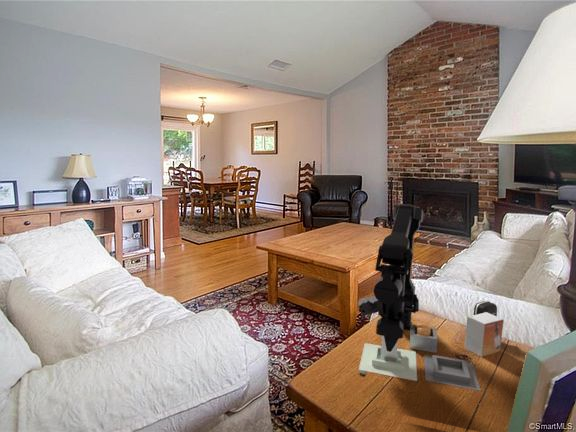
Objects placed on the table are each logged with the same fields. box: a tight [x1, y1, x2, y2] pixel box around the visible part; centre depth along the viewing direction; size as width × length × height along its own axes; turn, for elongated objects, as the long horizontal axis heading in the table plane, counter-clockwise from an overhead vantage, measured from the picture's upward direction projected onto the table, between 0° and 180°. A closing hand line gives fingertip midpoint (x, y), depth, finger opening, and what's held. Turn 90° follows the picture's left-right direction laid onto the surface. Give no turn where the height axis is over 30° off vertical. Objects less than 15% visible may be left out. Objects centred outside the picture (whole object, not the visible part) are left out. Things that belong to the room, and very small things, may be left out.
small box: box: [464, 312, 505, 358], centre depth 99 cm, size 8×6×10 cm
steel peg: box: [380, 336, 399, 362], centre depth 93 cm, size 4×4×8 cm
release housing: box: [409, 323, 439, 354], centre depth 102 cm, size 7×7×5 cm
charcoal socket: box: [423, 354, 482, 392], centre depth 89 cm, size 12×12×2 cm
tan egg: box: [417, 324, 431, 336], centre depth 102 cm, size 4×4×5 cm
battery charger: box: [473, 300, 498, 317], centre depth 107 cm, size 7×4×11 cm, turn 119°
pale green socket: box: [358, 342, 418, 382], centre depth 94 cm, size 14×14×2 cm
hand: (389, 346), depth 93 cm, fingers open, 5 cm apart
